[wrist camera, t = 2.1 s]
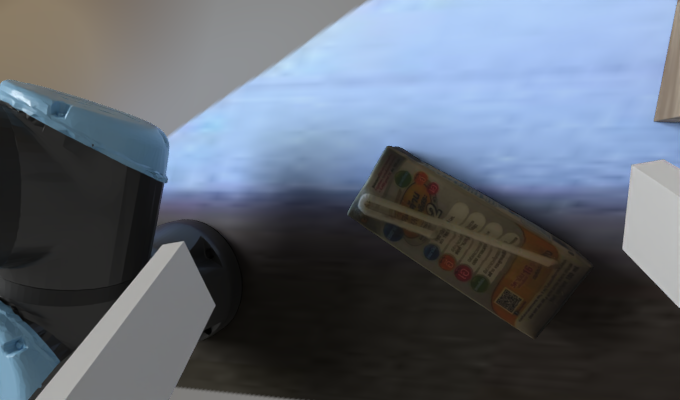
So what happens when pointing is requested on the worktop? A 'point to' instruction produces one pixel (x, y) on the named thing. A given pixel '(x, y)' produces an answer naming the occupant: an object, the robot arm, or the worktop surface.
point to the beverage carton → (469, 241)
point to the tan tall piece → (671, 78)
